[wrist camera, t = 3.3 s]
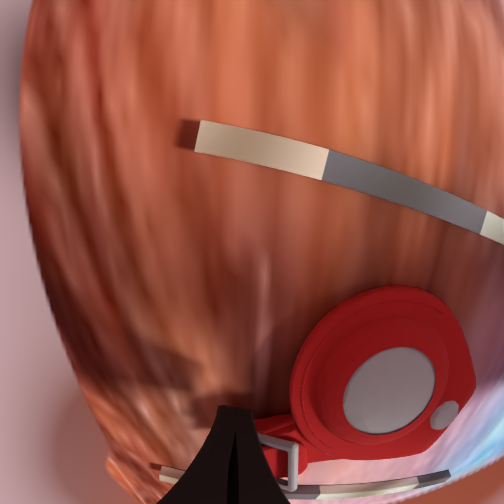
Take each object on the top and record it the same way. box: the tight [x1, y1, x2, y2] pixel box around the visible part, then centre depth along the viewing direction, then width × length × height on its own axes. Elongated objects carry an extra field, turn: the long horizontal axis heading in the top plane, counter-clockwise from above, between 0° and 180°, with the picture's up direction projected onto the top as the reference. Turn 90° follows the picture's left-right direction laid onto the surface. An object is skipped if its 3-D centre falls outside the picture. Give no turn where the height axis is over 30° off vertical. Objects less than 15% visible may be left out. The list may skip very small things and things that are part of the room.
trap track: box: [160, 120, 504, 499], centre depth 13 cm, size 24×21×1 cm
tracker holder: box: [254, 285, 476, 492], centre depth 12 cm, size 12×4×10 cm
